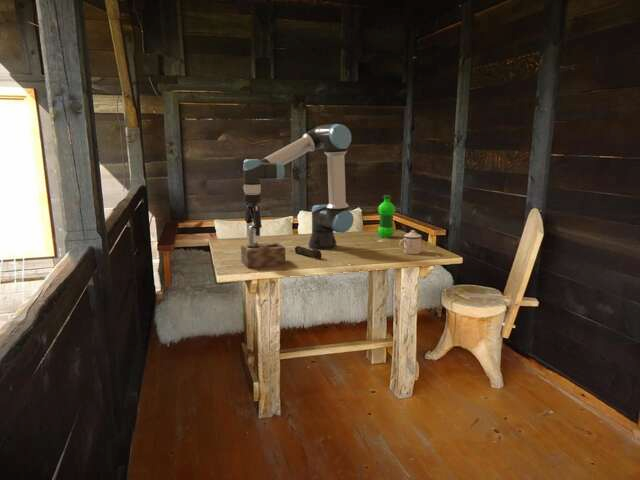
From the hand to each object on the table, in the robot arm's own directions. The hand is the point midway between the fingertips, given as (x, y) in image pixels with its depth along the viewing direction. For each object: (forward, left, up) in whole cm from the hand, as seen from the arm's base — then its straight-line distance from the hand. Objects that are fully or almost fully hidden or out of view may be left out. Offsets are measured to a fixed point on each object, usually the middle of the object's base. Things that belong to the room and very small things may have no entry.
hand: (253, 239), depth 222 cm
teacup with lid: (-82, +6, -12) cm, 83 cm away
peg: (0, 0, -10) cm, 10 cm away
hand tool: (-30, -6, -12) cm, 33 cm away
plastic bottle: (-90, -34, -12) cm, 97 cm away
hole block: (-4, 0, -12) cm, 13 cm away
